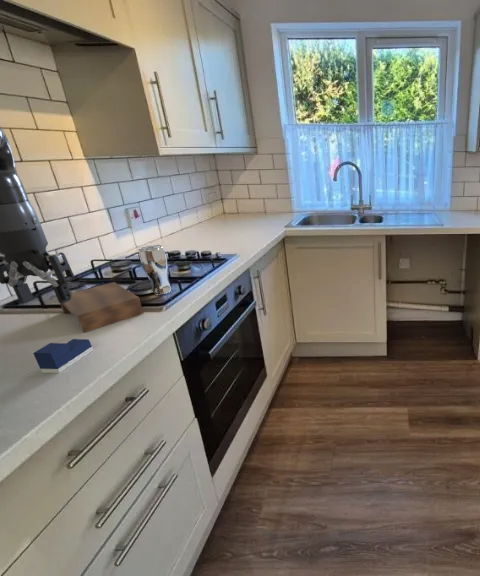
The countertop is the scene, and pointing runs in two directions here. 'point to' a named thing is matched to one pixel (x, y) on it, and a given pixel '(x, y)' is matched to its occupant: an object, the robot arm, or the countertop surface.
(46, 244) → the robot arm
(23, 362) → the countertop surface
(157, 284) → the beer glass
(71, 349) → the blue stepped sponge
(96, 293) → the wooden display riser
